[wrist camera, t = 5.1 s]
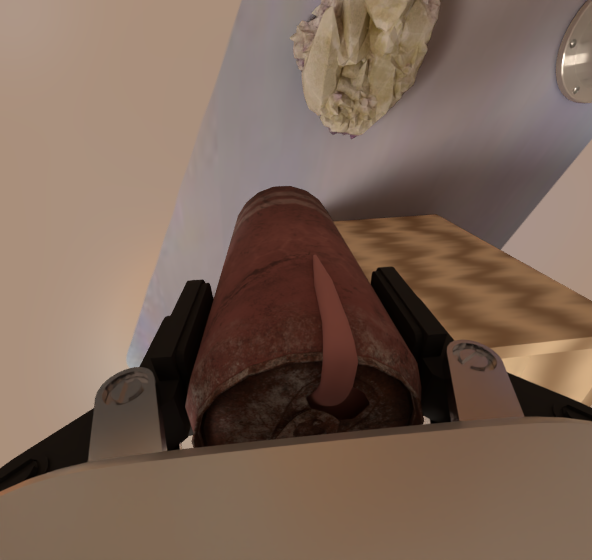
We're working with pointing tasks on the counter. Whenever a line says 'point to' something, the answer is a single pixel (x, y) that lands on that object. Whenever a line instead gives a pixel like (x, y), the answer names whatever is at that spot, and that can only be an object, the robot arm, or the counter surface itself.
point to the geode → (361, 58)
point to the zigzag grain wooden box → (485, 297)
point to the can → (297, 335)
